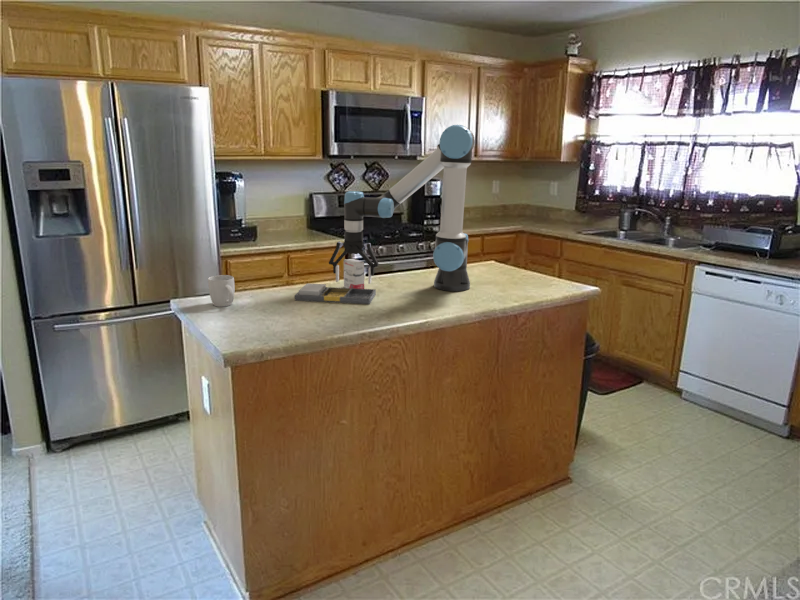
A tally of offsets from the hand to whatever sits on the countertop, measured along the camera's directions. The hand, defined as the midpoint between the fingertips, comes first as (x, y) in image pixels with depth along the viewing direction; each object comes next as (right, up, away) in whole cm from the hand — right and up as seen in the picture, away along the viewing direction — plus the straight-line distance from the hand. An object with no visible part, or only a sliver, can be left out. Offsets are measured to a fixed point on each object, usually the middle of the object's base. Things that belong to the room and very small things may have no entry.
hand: (353, 282), depth 226 cm
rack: (-6, -6, -13) cm, 16 cm away
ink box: (0, -3, +1) cm, 3 cm away
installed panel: (-15, -6, -12) cm, 20 cm away
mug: (-45, -10, -26) cm, 53 cm away
